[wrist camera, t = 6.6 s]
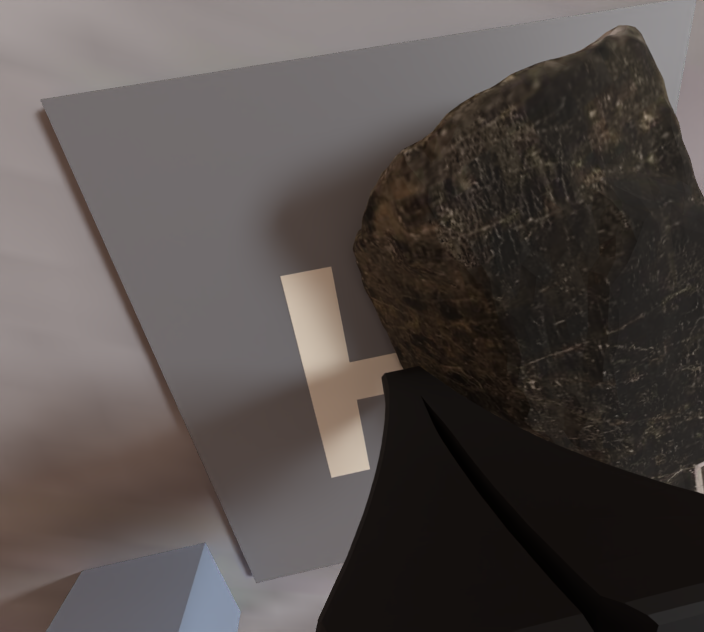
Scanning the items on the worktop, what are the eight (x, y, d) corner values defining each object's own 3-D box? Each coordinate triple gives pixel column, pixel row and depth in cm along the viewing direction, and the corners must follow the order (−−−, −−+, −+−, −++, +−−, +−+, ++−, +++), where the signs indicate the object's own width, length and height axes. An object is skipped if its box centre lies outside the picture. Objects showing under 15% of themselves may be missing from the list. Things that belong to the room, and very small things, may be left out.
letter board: (598, 493, 15) (605, 501, 15) (257, 573, 15) (256, 583, 14) (680, 4, 9) (698, -5, 8) (53, 103, 8) (40, 99, 7)
